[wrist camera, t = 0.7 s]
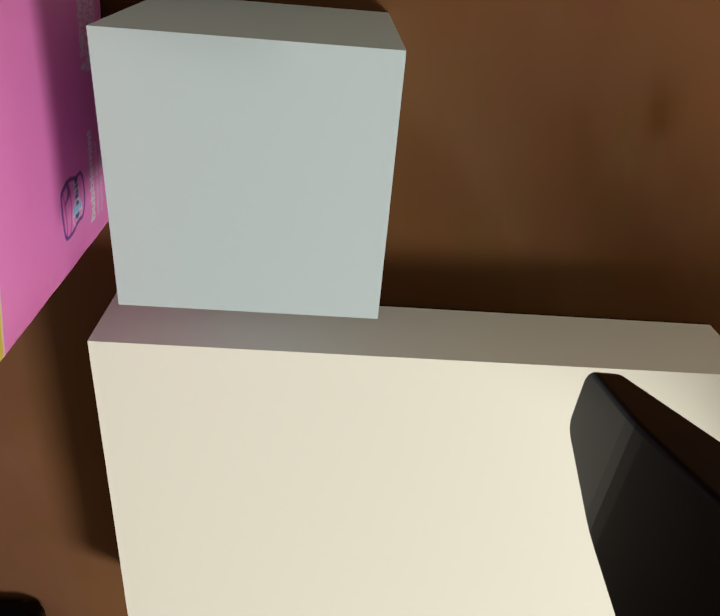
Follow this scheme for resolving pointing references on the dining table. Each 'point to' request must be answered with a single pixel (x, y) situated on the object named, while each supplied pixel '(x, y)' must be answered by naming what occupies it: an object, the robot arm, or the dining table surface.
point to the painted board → (366, 456)
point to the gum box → (45, 154)
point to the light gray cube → (248, 153)
